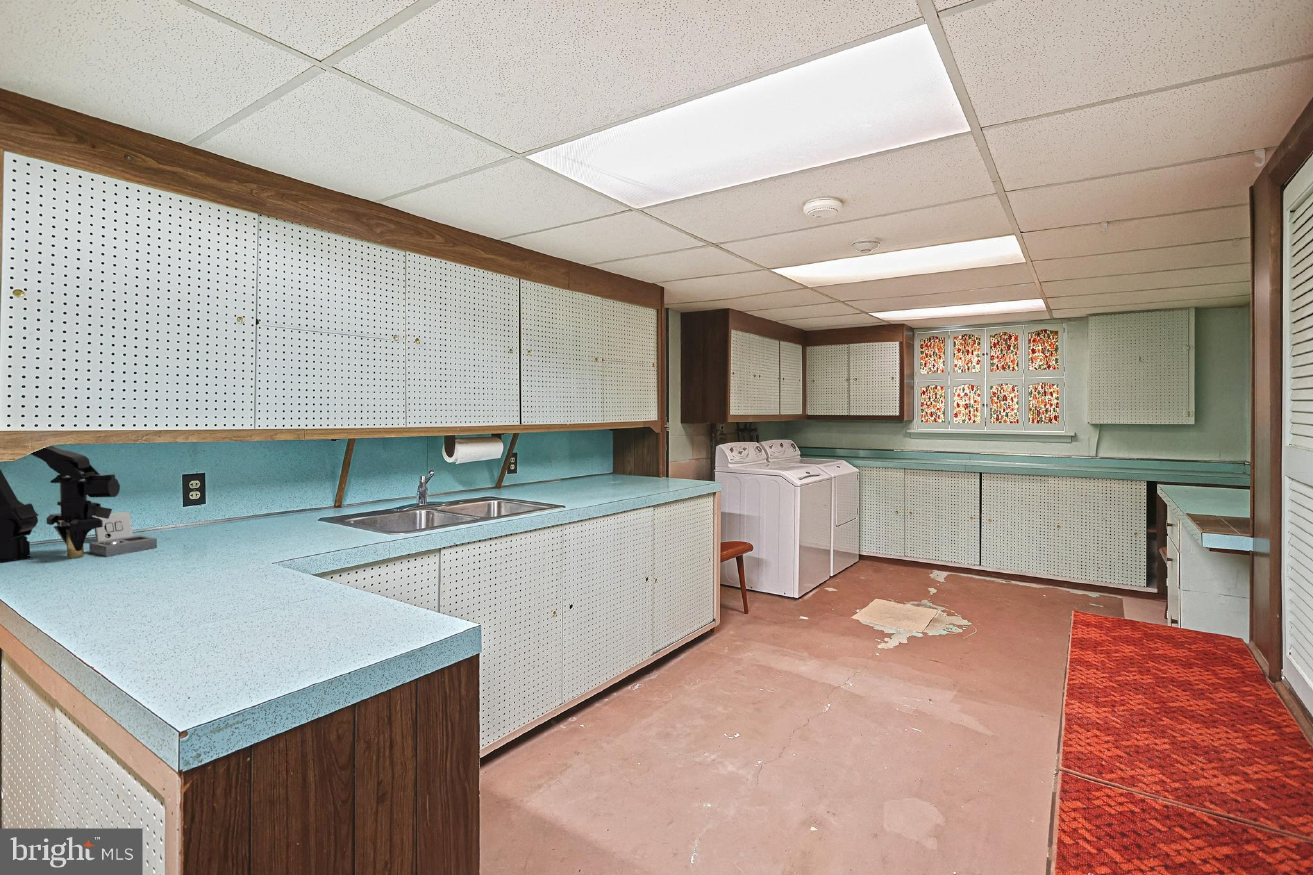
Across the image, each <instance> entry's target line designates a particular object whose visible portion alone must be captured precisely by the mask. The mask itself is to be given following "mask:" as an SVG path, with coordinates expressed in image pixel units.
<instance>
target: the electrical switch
mask: <svg viewBox="0 0 1313 875" xmlns="http://www.w3.org/2000/svg"><path fill="white" fill-rule="evenodd" d="M130 515H131V514H130V512H129V511H122V512H121V511H120V512H113V513H112V512H111V514H110V516H109V519H106V518H101V517H96V516H93V517H96V518H99V519H101V520H102V521H103V527H100V528H95V529H94V535H95V542H99V541H105V540H112V539H118V538H125V537H131V536H134V534H133V533H134V532H133V528H132V521H131V516H130Z"/></svg>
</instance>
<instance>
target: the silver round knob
mask: <svg viewBox="0 0 1313 875" xmlns="http://www.w3.org/2000/svg"><path fill="white" fill-rule="evenodd" d="M116 543H120V540H109V541H105V542H104V545H110V544H116Z"/></svg>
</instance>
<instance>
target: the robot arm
mask: <svg viewBox="0 0 1313 875" xmlns="http://www.w3.org/2000/svg"><path fill="white" fill-rule="evenodd" d="M30 455H31V456H33V457H36V458H37V459H40V460H42V461H43V462H45V464H47V466H48V468H49V469H52V471H53V472H55V473H57V475H56V476H55V477H54V478H52V479H51V480H50V481H49V482H50V483H51V484H59V492H60V493H59V496H60V500H59V501H57V502H56V503H57V506H60V513H52V514H49V515H48V516H47V517H46V525H49V526H53V525H54V524H56V525H54V526H53V529H55V531H56V533H58V535H59V537H61V539H62V540H63V541H62V542H64V543H65V545H66V546H67V536H66V534H68V536H69V538H70V540H71V542H72V544H73V546H74V548H75V550H76V551H81V549H82V547H83V545H85V544H84V543H85V540H86V538H87V535H88V533H89V532H91V531H92V530H95V528H100V527H103V521H102V520H101V519H99V518H96V517H101V518H106V519H109V516H110V514H111V513H112V511H113V508H109V507H104V506H102V505H101V503H100V502H92V500H90V499H88V497H89V498H115V497H117V496H118V495H119V493H120V489H121V485H120V482H119V480H118V479H117V478H116V474H115V473H113V474H112V473H111V474H100V473H99V472H98V471H97V469H96V468H95V467H94V466H93V465H91V463H90V459H89V458H88V457H87V456H86V455H84V454H80V453H77V452H74V451H69V450H64V449H61V448H58V447H55V446H54V445H51V446H49V447H46V448H43V449H41V450H39V451H36V452H33V453H31V454H30ZM38 516H40V514H39V513H38V512H36V510H35V508H34V505H33V504H32V503H26V504H24V503H22V501H20V500H19V499H18V498H17V496H16V494H15V492H14V490H13V489H12V488H11V486H10V484H9V481H8V480H7V478H6V477H5V475H4V473H3V472H2V470H1V469H0V563H6V562H12V561H17V560H25V559H31V555H30V554H31V546H30V545H31V543H30V541H29V540H28V537H27V536H30V535H31V534H32V531H33V530H34V528H36V526H37V524H38V523H39V518H38ZM94 516H96V517H94Z"/></svg>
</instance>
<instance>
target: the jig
mask: <svg viewBox="0 0 1313 875" xmlns="http://www.w3.org/2000/svg"><path fill="white" fill-rule="evenodd" d="M112 540H120V543H116V544H110V545H104V542H105V541H109V540H105V541H99V542H97V541H93V542H89V543H88V546H89V554H93V555H98V556H102V557H106V558H107V557H113V556H119V555H124V554H130V553H137V552H142V551H147V550H148V551H149V550H154V549H157V548H158V539H157V538H155V537H152V536H151V537H149V536H147V535H146V536H145V535H133V536H131V537H125V538H118V539H112Z"/></svg>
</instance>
